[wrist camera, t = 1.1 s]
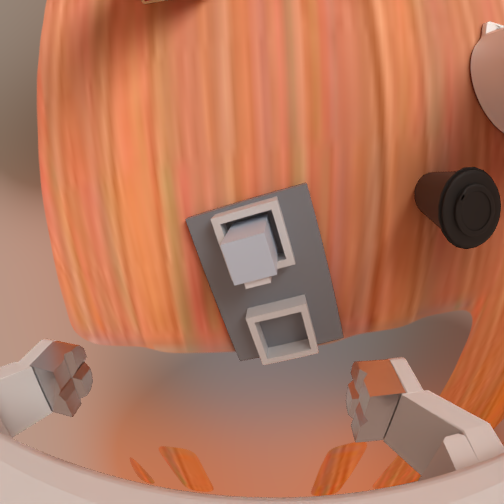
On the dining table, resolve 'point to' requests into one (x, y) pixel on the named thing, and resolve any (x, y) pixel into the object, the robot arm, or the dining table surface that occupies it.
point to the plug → (251, 251)
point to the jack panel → (272, 279)
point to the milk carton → (151, 1)
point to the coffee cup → (460, 204)
